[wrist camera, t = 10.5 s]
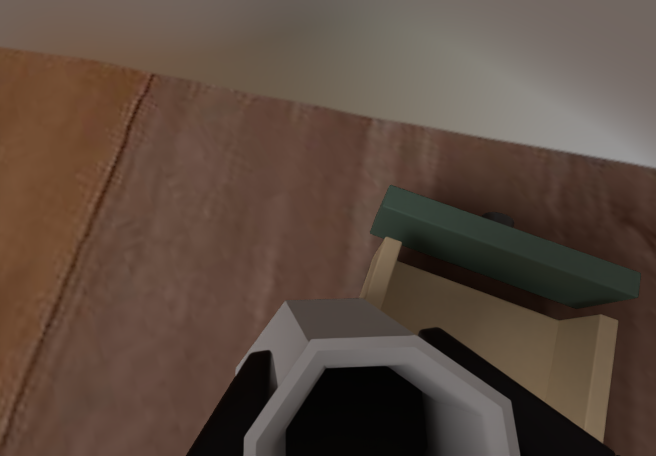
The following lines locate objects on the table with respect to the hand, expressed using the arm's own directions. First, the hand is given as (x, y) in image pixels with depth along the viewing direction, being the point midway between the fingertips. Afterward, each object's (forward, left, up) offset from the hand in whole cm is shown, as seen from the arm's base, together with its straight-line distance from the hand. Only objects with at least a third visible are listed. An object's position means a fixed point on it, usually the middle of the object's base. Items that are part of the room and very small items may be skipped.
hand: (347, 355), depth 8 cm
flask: (-1, -1, -7) cm, 7 cm away
